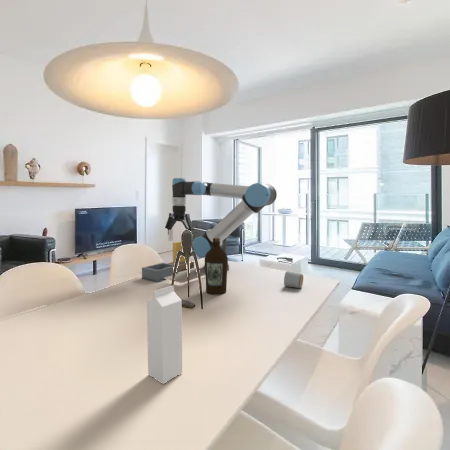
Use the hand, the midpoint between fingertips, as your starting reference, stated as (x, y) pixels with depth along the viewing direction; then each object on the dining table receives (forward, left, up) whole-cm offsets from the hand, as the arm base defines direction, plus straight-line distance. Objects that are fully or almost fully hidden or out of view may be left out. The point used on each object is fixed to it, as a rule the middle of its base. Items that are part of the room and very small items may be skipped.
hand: (179, 241), depth 177 cm
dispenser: (0, 0, -18) cm, 18 cm away
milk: (-68, +79, -18) cm, 106 cm away
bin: (-1, +16, -18) cm, 24 cm away
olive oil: (-40, +19, -18) cm, 48 cm away
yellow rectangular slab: (0, 0, -16) cm, 16 cm away
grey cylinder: (-66, -11, -18) cm, 69 cm away
